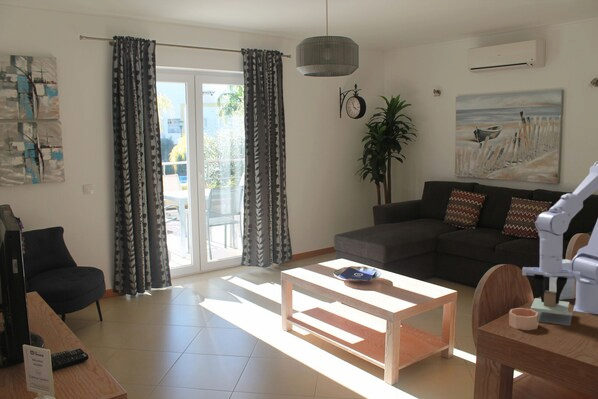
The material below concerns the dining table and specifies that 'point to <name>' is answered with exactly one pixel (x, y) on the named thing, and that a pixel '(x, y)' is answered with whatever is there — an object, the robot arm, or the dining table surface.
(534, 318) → the terracotta bowl
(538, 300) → the sage lid
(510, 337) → the dining table surface
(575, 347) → the dining table surface
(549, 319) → the grey mat
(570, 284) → the skincare box
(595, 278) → the robot arm
